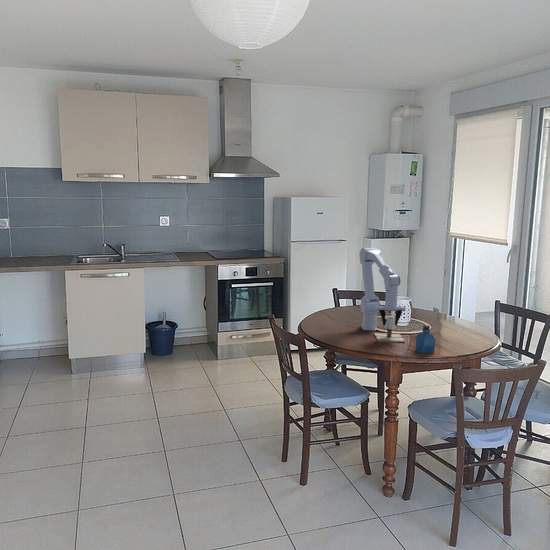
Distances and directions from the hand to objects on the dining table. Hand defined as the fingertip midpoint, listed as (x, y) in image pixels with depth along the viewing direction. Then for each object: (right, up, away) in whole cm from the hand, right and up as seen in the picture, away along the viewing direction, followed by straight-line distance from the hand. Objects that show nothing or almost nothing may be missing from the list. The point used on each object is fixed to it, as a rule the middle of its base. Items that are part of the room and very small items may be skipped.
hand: (389, 324), depth 269 cm
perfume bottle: (+13, -11, -18) cm, 25 cm away
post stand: (0, -7, +1) cm, 7 cm away
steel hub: (0, -2, 0) cm, 2 cm away
